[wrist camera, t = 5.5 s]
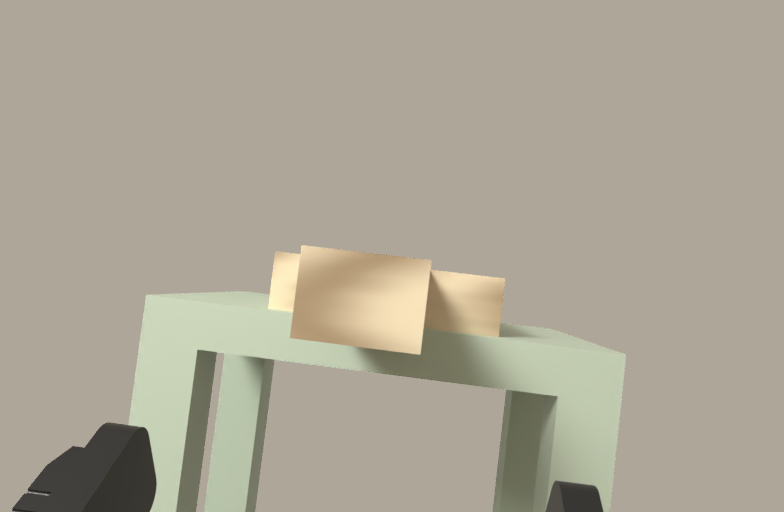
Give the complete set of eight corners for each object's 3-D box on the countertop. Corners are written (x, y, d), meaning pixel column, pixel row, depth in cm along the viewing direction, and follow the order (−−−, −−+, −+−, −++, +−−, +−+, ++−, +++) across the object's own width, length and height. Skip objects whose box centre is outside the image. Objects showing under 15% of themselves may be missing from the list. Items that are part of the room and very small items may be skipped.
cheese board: (171, 323, 16) (184, 230, 16) (311, 301, 36) (316, 260, 36) (544, 370, 16) (555, 275, 16) (478, 322, 36) (483, 280, 36)
